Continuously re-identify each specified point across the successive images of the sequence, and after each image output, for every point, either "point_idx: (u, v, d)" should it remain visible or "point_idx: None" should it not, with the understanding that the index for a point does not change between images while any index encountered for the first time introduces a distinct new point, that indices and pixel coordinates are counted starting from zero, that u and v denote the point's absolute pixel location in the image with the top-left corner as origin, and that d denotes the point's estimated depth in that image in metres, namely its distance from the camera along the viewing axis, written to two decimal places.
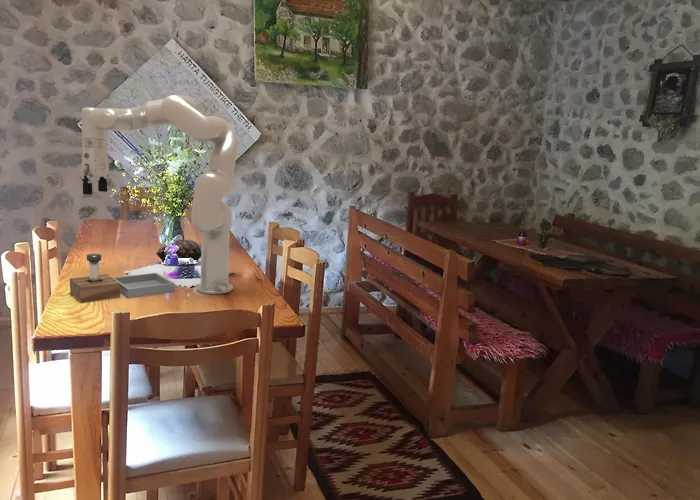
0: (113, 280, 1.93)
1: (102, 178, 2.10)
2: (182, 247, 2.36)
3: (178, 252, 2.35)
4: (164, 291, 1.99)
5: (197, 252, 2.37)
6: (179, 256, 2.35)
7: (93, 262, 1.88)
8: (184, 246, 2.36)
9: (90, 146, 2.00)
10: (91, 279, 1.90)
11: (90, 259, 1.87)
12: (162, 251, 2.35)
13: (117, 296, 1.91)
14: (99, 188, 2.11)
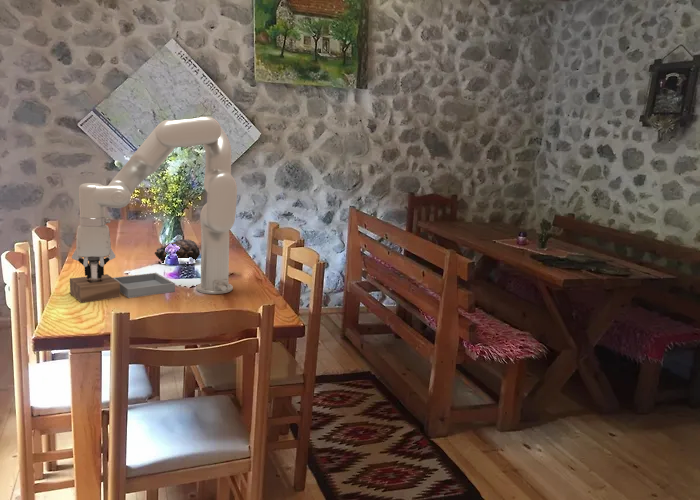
0: (113, 280, 1.93)
1: None
2: (181, 247, 2.36)
3: (177, 252, 2.35)
4: (164, 291, 1.99)
5: (196, 252, 2.38)
6: (178, 256, 2.36)
7: (93, 262, 1.88)
8: (183, 246, 2.36)
9: None
10: (91, 279, 1.90)
11: (90, 259, 1.87)
12: (161, 251, 2.35)
13: (117, 296, 1.91)
14: (89, 275, 1.89)
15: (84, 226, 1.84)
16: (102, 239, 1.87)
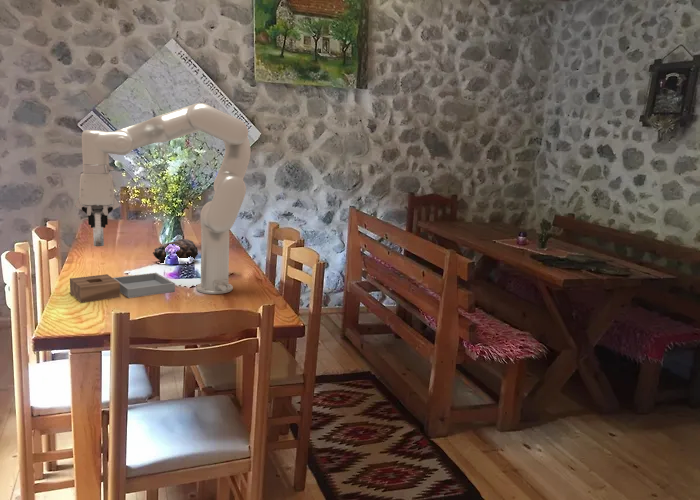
0: (113, 280, 1.93)
1: (90, 211, 1.87)
2: (179, 246, 2.37)
3: None
4: (164, 291, 1.99)
5: (194, 251, 2.39)
6: (177, 255, 2.36)
7: (97, 211, 1.86)
8: (181, 245, 2.37)
9: None
10: (95, 228, 1.87)
11: (93, 207, 1.85)
12: (159, 251, 2.35)
13: (117, 296, 1.91)
14: None
15: (87, 173, 1.81)
16: (106, 187, 1.85)
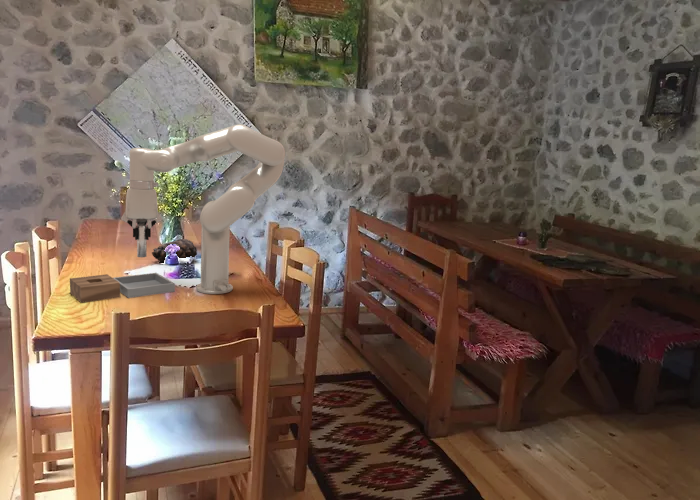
0: (113, 280, 1.93)
1: None
2: None
3: None
4: (164, 291, 1.99)
5: (193, 251, 2.39)
6: None
7: (141, 224, 1.96)
8: (180, 245, 2.37)
9: None
10: (139, 240, 1.97)
11: (138, 221, 1.95)
12: (158, 251, 2.35)
13: (117, 296, 1.91)
14: None
15: (134, 188, 1.92)
16: (150, 202, 1.95)
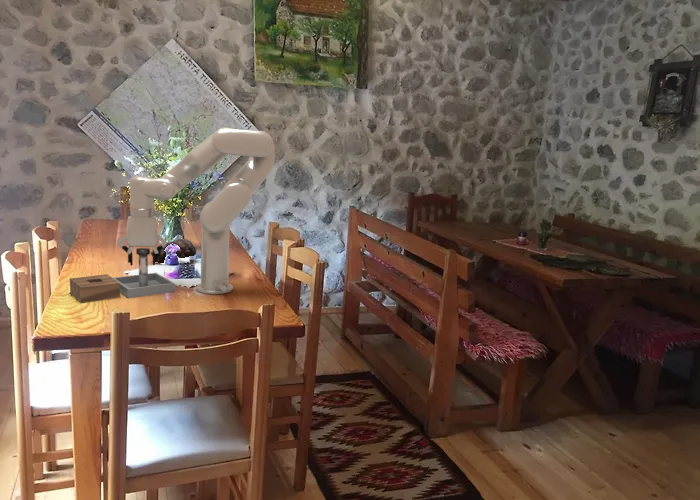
0: (113, 280, 1.93)
1: None
2: None
3: None
4: (164, 291, 1.99)
5: (193, 251, 2.39)
6: None
7: (142, 255, 1.99)
8: (180, 245, 2.37)
9: None
10: (140, 272, 2.00)
11: (140, 253, 1.98)
12: None
13: (117, 296, 1.91)
14: (132, 262, 1.98)
15: (135, 217, 1.94)
16: (151, 229, 1.97)
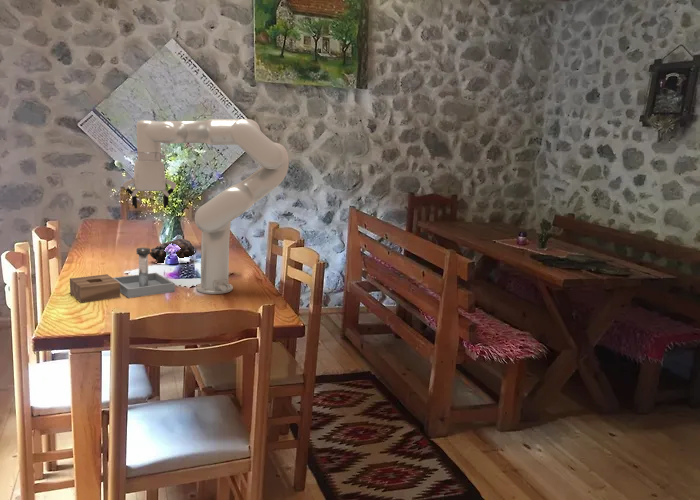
0: (113, 280, 1.93)
1: None
2: None
3: None
4: (164, 291, 1.99)
5: (192, 250, 2.40)
6: None
7: (143, 255, 1.99)
8: (179, 245, 2.38)
9: None
10: (140, 272, 2.00)
11: (140, 253, 1.98)
12: (156, 251, 2.35)
13: (117, 296, 1.91)
14: (136, 205, 1.99)
15: (142, 160, 1.95)
16: (159, 173, 1.98)
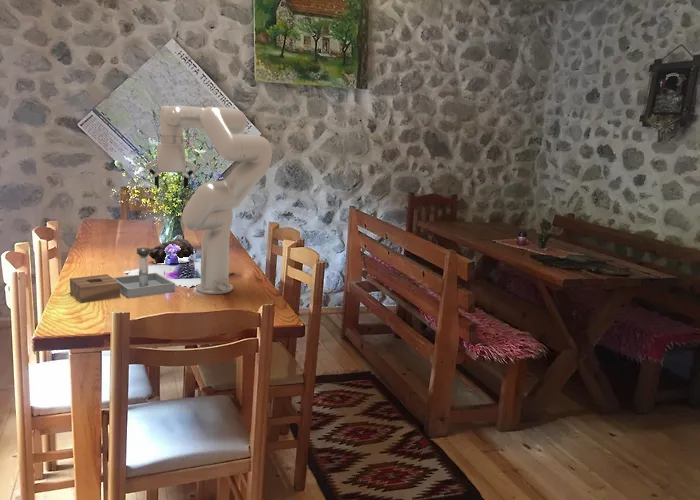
0: (113, 280, 1.93)
1: None
2: None
3: None
4: (164, 291, 1.99)
5: (191, 250, 2.40)
6: None
7: (143, 255, 1.99)
8: (178, 245, 2.38)
9: None
10: (141, 272, 2.00)
11: (140, 252, 1.98)
12: (156, 251, 2.35)
13: (117, 296, 1.91)
14: (158, 184, 2.13)
15: (165, 143, 2.09)
16: (179, 156, 2.12)
